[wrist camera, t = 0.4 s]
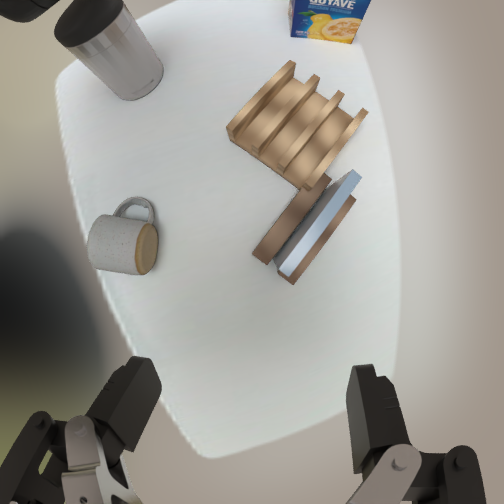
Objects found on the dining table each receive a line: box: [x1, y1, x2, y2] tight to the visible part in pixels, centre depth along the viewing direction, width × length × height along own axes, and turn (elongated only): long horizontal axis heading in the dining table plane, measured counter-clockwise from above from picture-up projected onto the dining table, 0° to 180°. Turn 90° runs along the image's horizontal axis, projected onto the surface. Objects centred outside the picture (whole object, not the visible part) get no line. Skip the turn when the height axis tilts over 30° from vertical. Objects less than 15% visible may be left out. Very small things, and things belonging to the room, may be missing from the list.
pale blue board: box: [273, 169, 362, 277], centre depth 30 cm, size 12×1×12 cm, turn 143°
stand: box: [252, 173, 356, 285], centre depth 35 cm, size 14×7×2 cm, turn 143°
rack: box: [226, 60, 368, 191], centre depth 33 cm, size 14×13×5 cm
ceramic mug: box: [87, 197, 158, 275], centre depth 33 cm, size 11×8×8 cm
